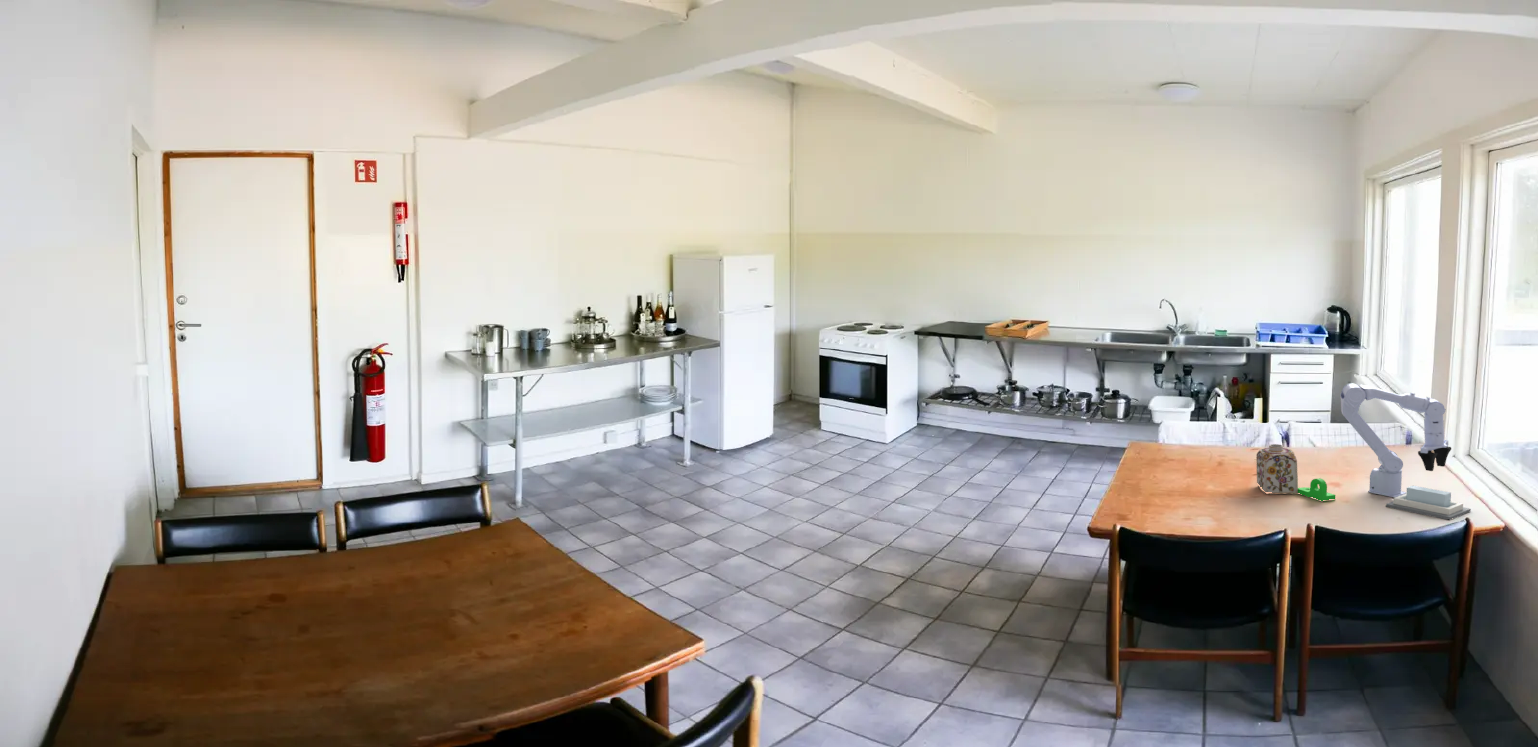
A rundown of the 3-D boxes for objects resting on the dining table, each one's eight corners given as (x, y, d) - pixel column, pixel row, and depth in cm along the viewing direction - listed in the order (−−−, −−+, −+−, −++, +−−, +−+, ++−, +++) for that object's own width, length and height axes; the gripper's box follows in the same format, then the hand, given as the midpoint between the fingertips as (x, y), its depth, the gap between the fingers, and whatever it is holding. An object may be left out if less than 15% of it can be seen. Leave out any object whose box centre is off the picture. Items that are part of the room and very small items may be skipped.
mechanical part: (1335, 500, 331) (1336, 479, 330) (1321, 501, 329) (1322, 480, 328) (1308, 491, 342) (1309, 471, 341) (1295, 493, 341) (1296, 473, 340)
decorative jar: (1256, 486, 354) (1255, 442, 351) (1289, 485, 350) (1288, 441, 348) (1264, 495, 342) (1263, 449, 340) (1298, 494, 339) (1297, 448, 336)
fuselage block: (1406, 503, 319) (1406, 487, 318) (1412, 501, 320) (1412, 485, 319) (1444, 511, 308) (1445, 494, 307) (1450, 509, 310) (1451, 492, 309)
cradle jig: (1386, 506, 320) (1386, 498, 319) (1407, 498, 326) (1407, 491, 326) (1449, 520, 302) (1450, 511, 302) (1470, 511, 309) (1470, 503, 308)
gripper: (1435, 437, 318) (1436, 474, 319) (1457, 429, 324) (1458, 465, 326) (1413, 435, 324) (1414, 471, 326) (1435, 427, 330) (1436, 462, 332)
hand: (1435, 468), depth 326 cm, fingers open, 7 cm apart
